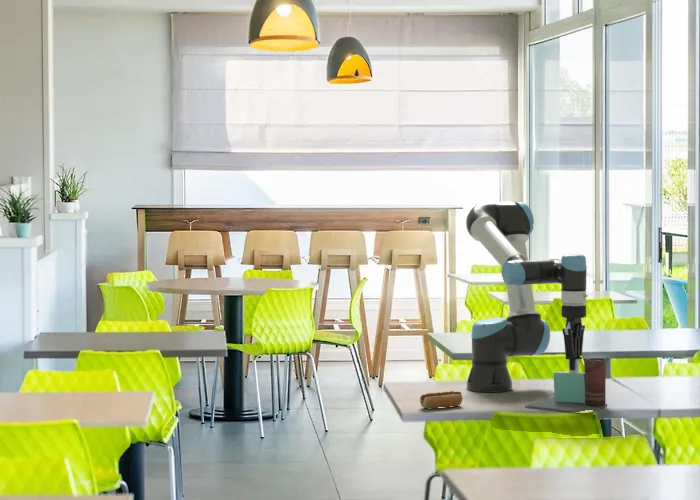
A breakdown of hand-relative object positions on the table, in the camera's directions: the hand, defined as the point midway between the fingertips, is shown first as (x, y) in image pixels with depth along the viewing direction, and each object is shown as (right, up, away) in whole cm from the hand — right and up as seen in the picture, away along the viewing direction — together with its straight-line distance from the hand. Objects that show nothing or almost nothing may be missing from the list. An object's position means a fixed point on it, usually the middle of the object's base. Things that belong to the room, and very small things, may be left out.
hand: (573, 380), depth 331 cm
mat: (-3, -8, -5) cm, 9 cm away
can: (+5, -7, -6) cm, 11 cm away
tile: (-1, -7, -1) cm, 7 cm away
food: (-41, -8, -4) cm, 42 cm away
